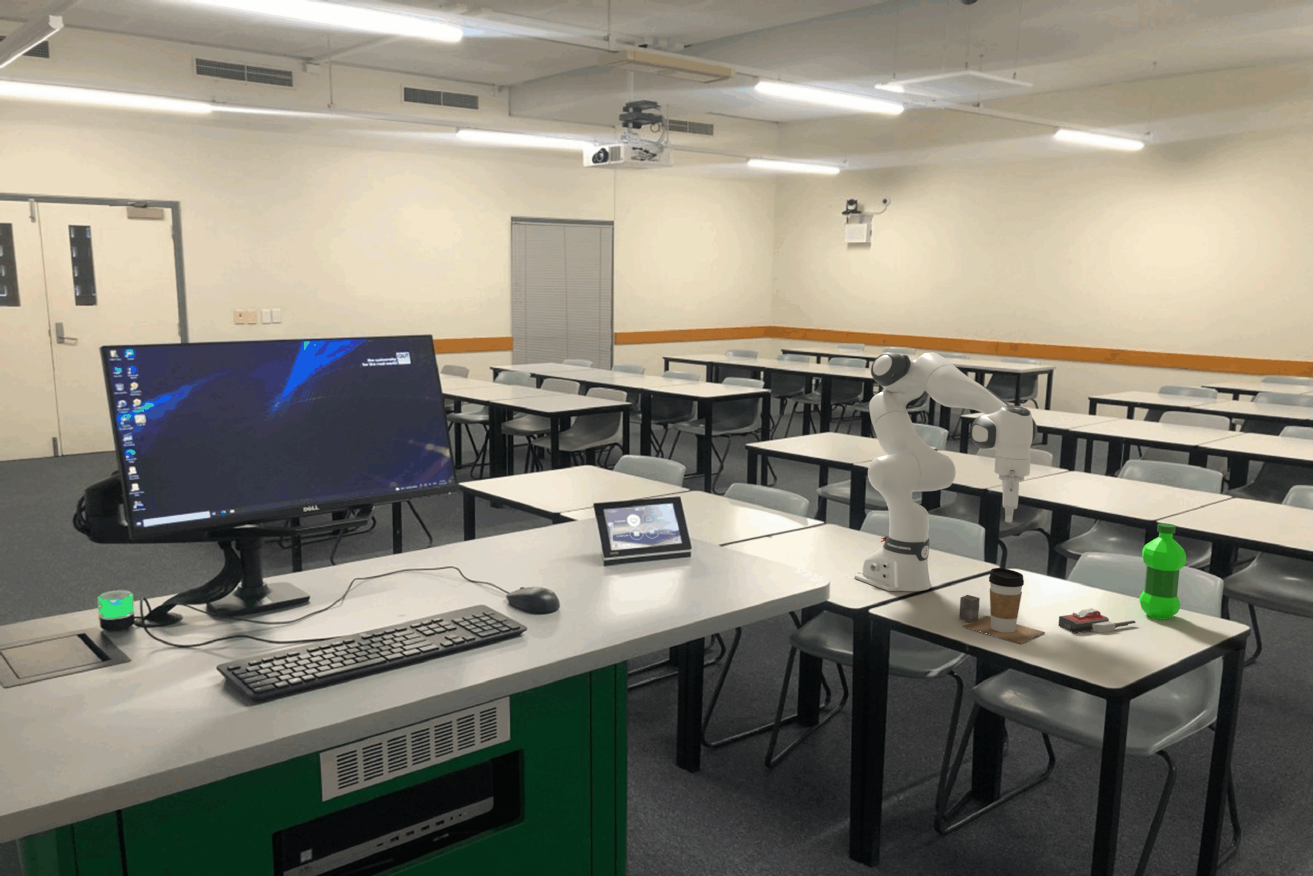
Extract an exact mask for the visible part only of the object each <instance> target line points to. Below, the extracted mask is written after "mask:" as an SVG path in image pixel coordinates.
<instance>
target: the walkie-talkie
mask: <svg viewBox="0 0 1313 876" xmlns="http://www.w3.org/2000/svg"><path fill="white" fill-rule="evenodd" d="M1136 623H1137V622H1136V620H1128V621H1121V622H1113V621H1110V619H1109V617H1107V616H1105V615H1103V614H1101V612H1100V611H1099V610H1097V609H1094V608H1086V609H1082V610H1080V611H1079V612H1072V614H1067V615H1059V617H1058V626H1057V627H1059V626H1060V628H1062V629H1064V630H1066V629H1067V631H1069V632H1071V631H1072V632H1071V633H1073V632H1076V633H1075V634H1079V633H1078V632H1081V633H1085V632H1084V631H1088V632H1093V633H1106V632H1114V631H1116V629H1117V628H1121V627H1126V626H1129V625H1133V624H1136Z"/></svg>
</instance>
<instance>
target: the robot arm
mask: <svg viewBox="0 0 1313 876" xmlns="http://www.w3.org/2000/svg"><path fill="white" fill-rule="evenodd" d="M870 374H871V377H872V378H873V380H874V382H875V383H877V384H878V385H879V386H880V387H881V388H882V390H881V392H878V393H877V394H875V395H874V396H872V398H871V399H870V400H869V404H868V409H869V415H870V420H871V424H872V426H873V430H874V432H875V435H876V438H877V440H878V443H879V445H880V447H881V449H882V450H883V452H884V453H886V454H885V455H881V456H877V457H874V458H873V459H872V460H871V461H870V463H869V465H868V469H867V477H868V481H869V484H870V485H871V487H873V489H874V490H875V491H878V493H880V495H881V497H883V499H884V501H885V503H886V505H887V506H886V507H887V508H888V509H887V510H888V514H889V515H888V518H889V523H888V526H889V529H888V534H887V535H885V536H884V537H881V538H880V543H883V542H884V543H883V546H882V547H880V548H879V549H877V550H876V551H874V552H872V553H871V554H869V555H868V556H867V557H866V558H865V559H864V561H863V566H862V569H861V570H858V571H857V572H855V574H854V579H856V580H859V581H861V582H863V583H867V584H869V585H872V586H874V587H877V588H880V589H883V590H885V591H889V592H899V591H900V592H901V591H902V592H921V591H926V590H929V589H930V588H932V583H931V578H930V573H929V563H928V561H929V553H930V538H929V523H930V515H929V512H928V511H927V509H926V508H925V507H924V506H922V505H921V504H919V503H917V502H915V501H914V499H913V493H914V492H934V491H939V490H943V489H947V488H950V487H951V486H952V484H953V483H954V481H955V478H956V465H955V464H954V462H953V460H952V459H951V458H950V457H949V456H948V455H946V454H943V453H941V452H940V451H938V450H935V448H933V447H931V446H930V445H929V444H927V442H925V441H924V440H923V438H922V437H920V435H919V434H918V432H917V430H916V428H915V426H914V423H913V421H912V419H911V418H910V415H909V413H908V411H907V410H909V409H913V408H914V407H915V406H918V405H919V404H921V403H923V402H924V401H925V400H926V399H927V398H928V396H929V397H930V398H932V400H934V401H935V402H936V403H938V404H940V405H942V406H944V407H947V408H955V409H956V408H957V409H966V410H967V409H968V410H974V411H977V412H981V413H983V414H982V415H979V416H977V417H976V418H975V419H974V421H973V422H972V424H971V427H970V438H971V440H972V442H973V444H974V445H975V446H976V447H977V448H979V449H982V450H988V451H990V450H995V451H996V453H995V460H994V473H995V474H996V475H998V479H999V480H1001V486H1002V507H1003V508H1004V513H1005V515H1004V517H1005V519H1004V522H1005V523H1010V524H1011V523H1012V522H1013V517H1014V513H1015V512H1014V511H1015V510H1016V509H1018V505H1019V494H1020V482H1024V481H1025V477H1028V476H1030V472H1031V462H1032V461H1031V459H1032V455H1031V446H1032V444H1033V443H1034V442H1035V440H1036V438H1037V436H1038V426H1037V423H1036V421H1035V420H1034V418H1033V416H1032V412H1031V411H1030V410H1029V409H1028V408H1026V407H1024V406H1022V405H1021V406H1020V405H1013V404H1010V403H1008V402H1006V401H1005V400H1004V399H1003V398H1001V397H1000V396H998V395H997V394H996V393H994V392H993V391H992V390H991V389H989V388H987V387H985V386H984V385H982V384H981V383H978V382H977V381H975V380H973V379H972V378H970V377H969V376H967V375H966V374H965V373H964V372H962V371H961V370H960V369H959V368H958V367H956V366H955V364H953V363H952V362H951V361H949V360H948V359H946V358H945V357H943V356H942V355H940V354H939V353H936V352H933V351H932V352H925V353H922V354H921V355H920V356H919V357H917V358H916V359H910V357H909V356H908V355H906V354H899V353H896V352H895V353H894V352H888V351H887V352H883V353H881V354H879V355H878V356H877V357H876V358H875V359H874V361H873V362H872V364H871V367H870Z"/></svg>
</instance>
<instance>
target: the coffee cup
mask: <svg viewBox="0 0 1313 876" xmlns="http://www.w3.org/2000/svg"><path fill="white" fill-rule="evenodd" d="M988 581H989V583H990V588H989V602H990V603H989V605H990V610H989V611H990V617H991V628H992V629H993V630H995V631H998V632H1004V633H1011V632H1014V631H1015V630H1016V624H1017V623H1018V622H1017V621H1018V617H1019V611H1020V606H1021V600H1022V593H1023V592H1022V589H1023V586H1025V580H1024V575H1023V574H1022V573H1021V572H1019V571H1015V570H1013V569H1008V568H1004V567H994V568H991V570H990V573H989V576H988Z"/></svg>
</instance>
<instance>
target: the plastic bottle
mask: <svg viewBox="0 0 1313 876" xmlns="http://www.w3.org/2000/svg"><path fill="white" fill-rule="evenodd" d="M1176 529H1177V528H1176V525H1175V524H1172V523H1165V522H1164V523H1157V530H1156V531H1157V532H1158V537H1156V538H1154V539H1153V540H1151V541H1149V542H1148V543H1146V544H1145V545H1143V548H1142V551H1141V553H1142V554H1141V558H1142V561H1143V563H1144V564H1145V566H1146V568H1145V578H1144V588H1143V591H1142V592H1141V593H1140V595H1139V598H1138V599H1139V600H1138V601H1139V604H1140V607H1141V610H1142V611H1143V612H1144V613H1145V614H1146V615H1147V616H1148V617H1149V616H1150V618H1152V619H1157V620H1168V619H1170V618H1172V617H1173V616H1176V615H1177V614H1178V612H1179V611H1180V609H1181V602H1180V600H1179V597H1178V588H1179V579H1180V570H1181V569H1183V568H1184V567H1185V565H1186V562H1187V555H1186V551H1185V549H1184V548H1183V547H1182V546H1181V545H1180V544H1179V543H1178V542H1177V541H1176V540H1175V539H1174V538H1173V537H1174V536H1173V535H1174V534H1176Z"/></svg>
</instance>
